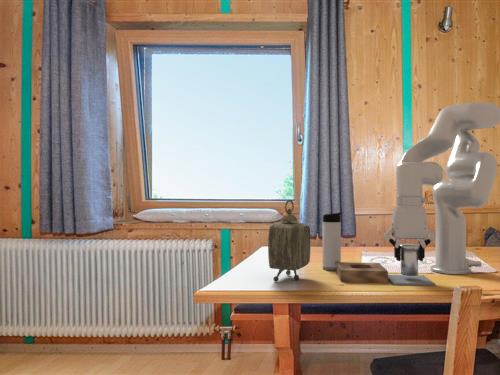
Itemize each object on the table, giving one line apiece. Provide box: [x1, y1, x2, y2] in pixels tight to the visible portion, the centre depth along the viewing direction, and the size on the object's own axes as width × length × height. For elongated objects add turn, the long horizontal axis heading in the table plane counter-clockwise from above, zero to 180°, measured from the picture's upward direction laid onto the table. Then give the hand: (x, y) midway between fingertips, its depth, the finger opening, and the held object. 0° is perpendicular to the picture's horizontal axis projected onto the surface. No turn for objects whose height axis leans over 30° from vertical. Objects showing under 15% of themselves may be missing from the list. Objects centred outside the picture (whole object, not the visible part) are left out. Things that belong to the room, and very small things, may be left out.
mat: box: [388, 274, 437, 287], centre depth 135 cm, size 12×12×1 cm
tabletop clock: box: [267, 199, 311, 283], centre depth 137 cm, size 14×9×25 cm, turn 155°
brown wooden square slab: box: [336, 261, 389, 284], centre depth 140 cm, size 14×14×4 cm
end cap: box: [399, 243, 420, 276], centre depth 135 cm, size 6×6×9 cm
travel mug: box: [322, 211, 343, 272], centre depth 154 cm, size 6×7×20 cm
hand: (409, 259), depth 135 cm, fingers closed on end cap, 6 cm apart
